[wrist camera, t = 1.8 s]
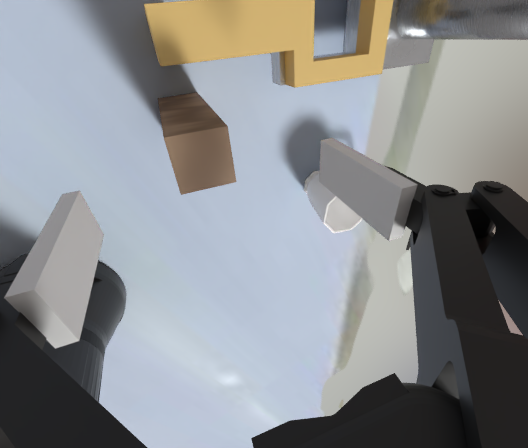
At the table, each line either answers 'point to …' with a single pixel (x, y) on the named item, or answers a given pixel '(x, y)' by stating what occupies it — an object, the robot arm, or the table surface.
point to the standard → (430, 28)
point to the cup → (329, 206)
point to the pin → (196, 143)
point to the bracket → (266, 36)
